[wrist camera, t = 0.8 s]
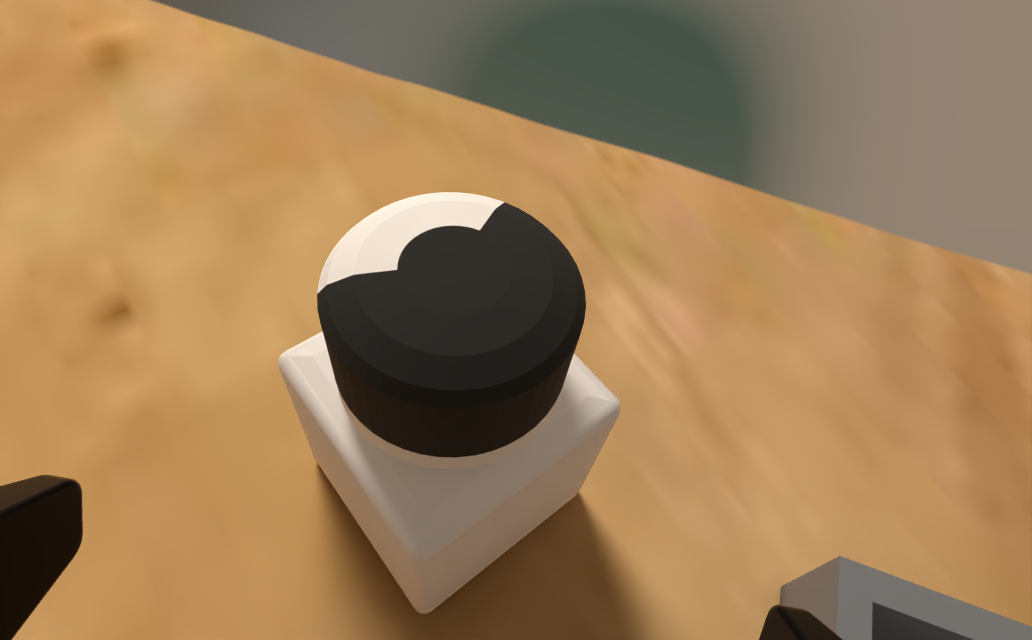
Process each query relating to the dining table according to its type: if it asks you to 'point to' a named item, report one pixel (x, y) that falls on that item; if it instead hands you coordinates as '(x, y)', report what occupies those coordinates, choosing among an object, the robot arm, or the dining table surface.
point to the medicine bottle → (449, 385)
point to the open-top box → (891, 607)
